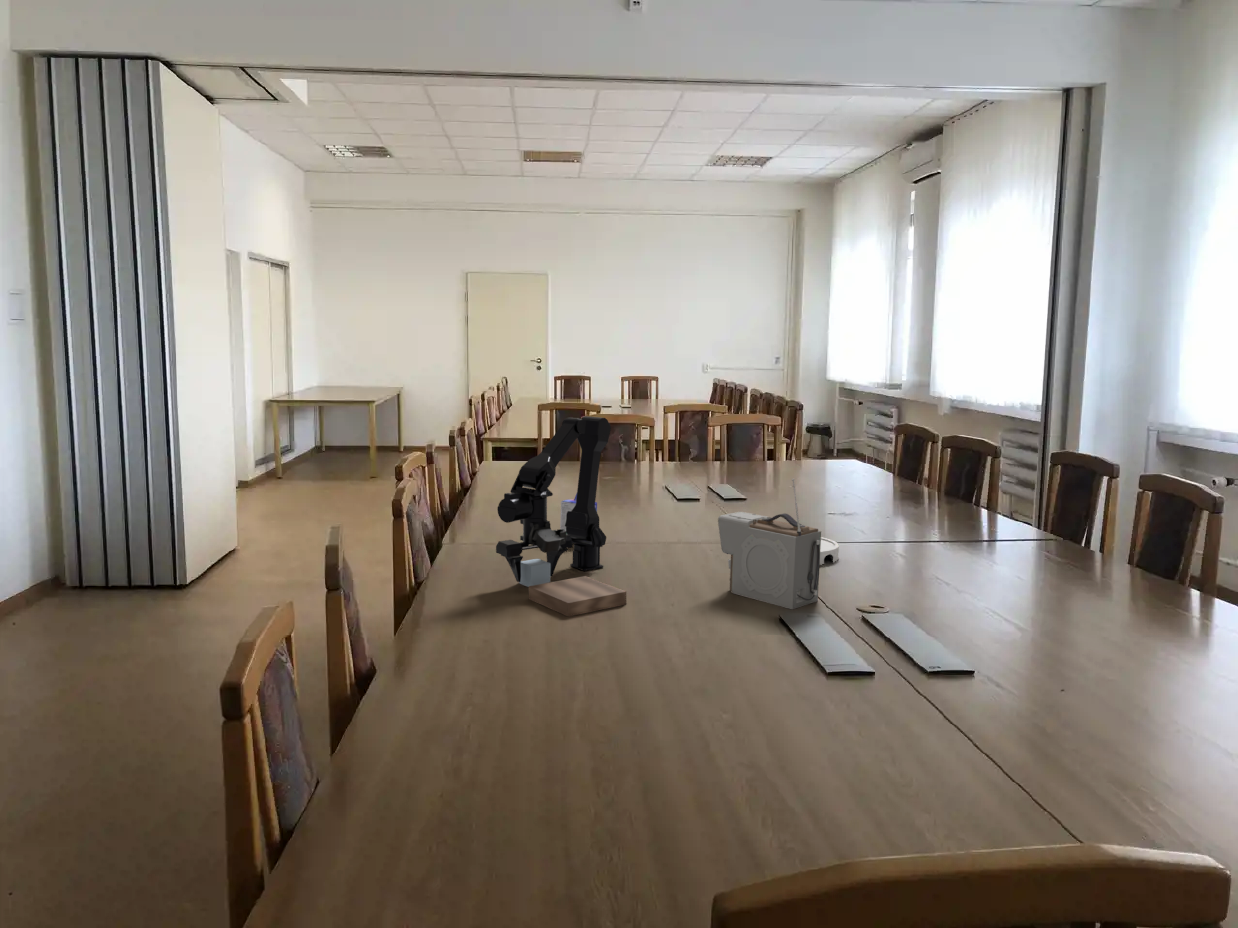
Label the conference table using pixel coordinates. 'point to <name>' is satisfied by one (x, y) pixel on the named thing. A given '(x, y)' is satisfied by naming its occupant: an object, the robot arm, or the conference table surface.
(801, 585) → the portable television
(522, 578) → the slate cube
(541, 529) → the robot arm
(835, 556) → the ashtray
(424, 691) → the conference table surface
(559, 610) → the walnut base
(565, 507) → the ink cartridge box
